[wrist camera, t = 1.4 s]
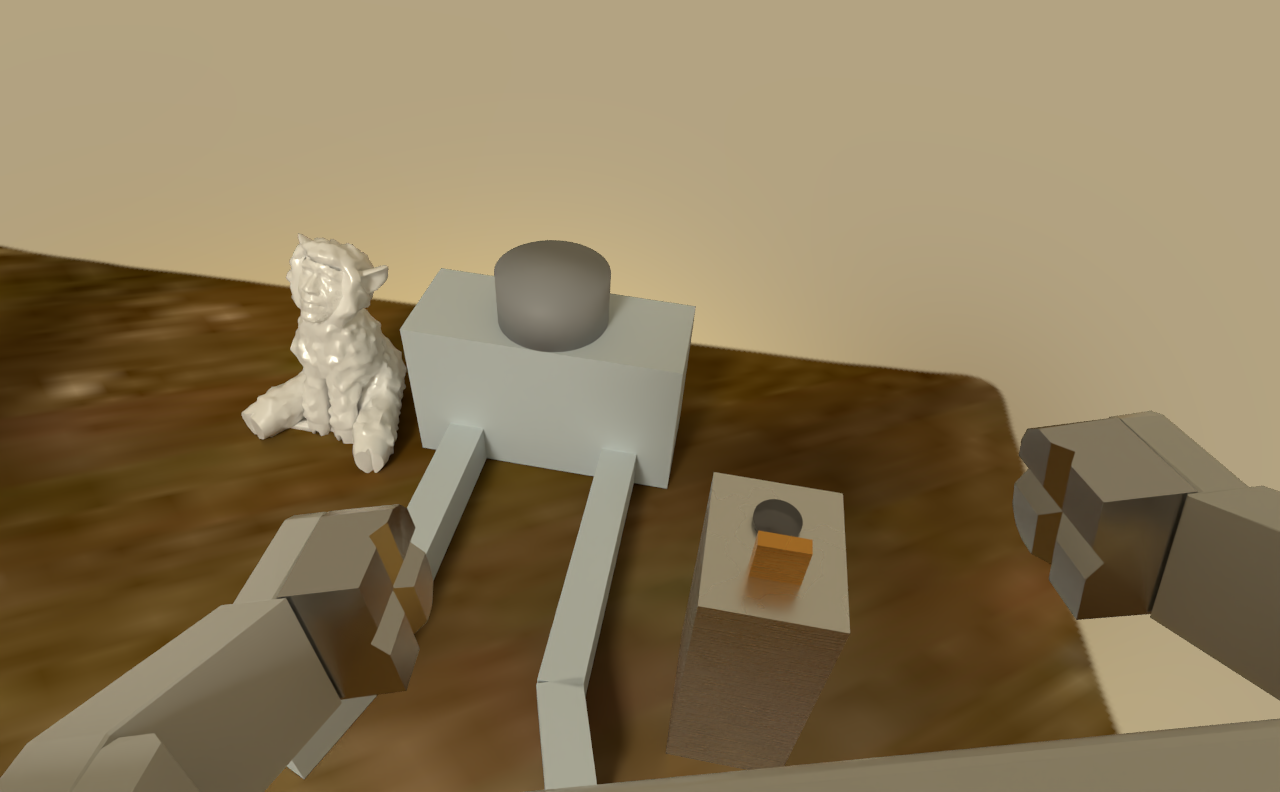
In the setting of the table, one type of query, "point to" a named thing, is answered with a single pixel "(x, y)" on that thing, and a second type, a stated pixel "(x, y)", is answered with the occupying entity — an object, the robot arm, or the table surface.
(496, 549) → the table surface
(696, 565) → the block
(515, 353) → the bracket
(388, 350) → the white creature statuette
